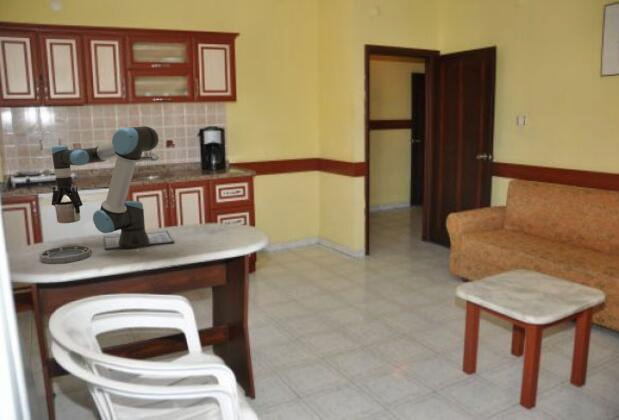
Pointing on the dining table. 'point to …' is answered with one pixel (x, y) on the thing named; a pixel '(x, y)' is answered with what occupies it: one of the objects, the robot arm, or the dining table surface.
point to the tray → (65, 254)
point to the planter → (65, 212)
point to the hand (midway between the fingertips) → (68, 219)
